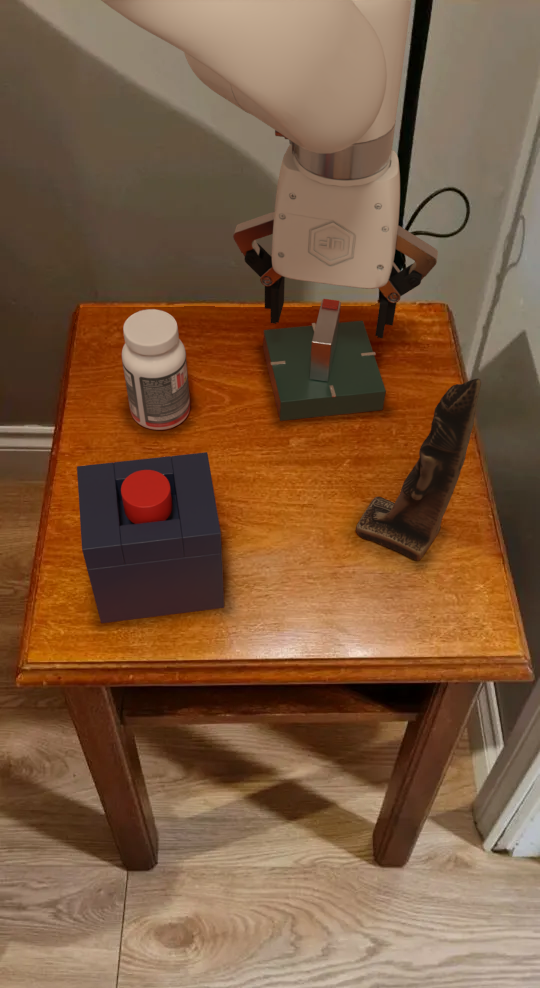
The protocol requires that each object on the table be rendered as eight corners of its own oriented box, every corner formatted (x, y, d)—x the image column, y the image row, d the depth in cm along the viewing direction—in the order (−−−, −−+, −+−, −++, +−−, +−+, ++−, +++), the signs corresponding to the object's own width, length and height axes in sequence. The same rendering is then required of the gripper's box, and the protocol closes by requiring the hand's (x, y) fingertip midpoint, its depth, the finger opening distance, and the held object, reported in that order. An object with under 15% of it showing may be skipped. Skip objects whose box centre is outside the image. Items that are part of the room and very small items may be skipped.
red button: (126, 529, 67) (122, 509, 65) (122, 492, 69) (119, 472, 67) (174, 523, 67) (172, 504, 66) (169, 487, 69) (167, 466, 67)
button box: (101, 623, 73) (81, 549, 65) (95, 544, 77) (76, 465, 69) (224, 607, 74) (221, 533, 66) (211, 530, 78) (207, 451, 70)
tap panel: (279, 422, 86) (279, 401, 83) (262, 349, 91) (262, 327, 89) (384, 410, 87) (387, 390, 84) (361, 339, 92) (363, 318, 90)
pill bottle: (201, 400, 87) (196, 316, 79) (172, 440, 84) (164, 357, 76) (148, 382, 88) (138, 297, 80) (119, 420, 85) (105, 337, 77)
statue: (372, 504, 80) (405, 323, 64) (447, 535, 79) (500, 357, 62) (352, 537, 78) (380, 359, 62) (428, 570, 77) (478, 395, 60)
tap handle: (327, 382, 85) (331, 342, 81) (309, 379, 85) (311, 339, 81) (337, 339, 88) (341, 299, 84) (318, 337, 88) (322, 296, 84)
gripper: (221, 155, 68) (227, 335, 82) (453, 182, 66) (418, 362, 80) (241, 101, 72) (244, 282, 86) (461, 126, 70) (426, 306, 84)
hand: (328, 320), depth 83 cm, fingers open, 9 cm apart
